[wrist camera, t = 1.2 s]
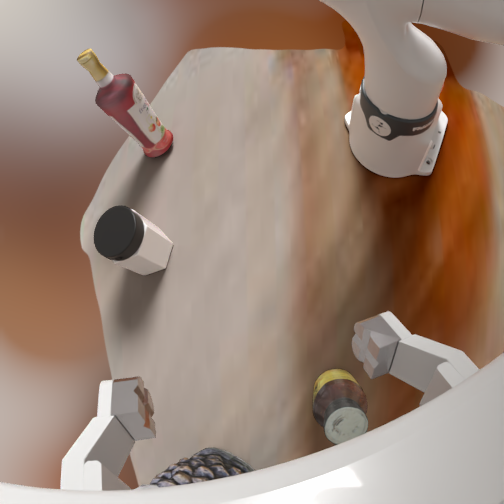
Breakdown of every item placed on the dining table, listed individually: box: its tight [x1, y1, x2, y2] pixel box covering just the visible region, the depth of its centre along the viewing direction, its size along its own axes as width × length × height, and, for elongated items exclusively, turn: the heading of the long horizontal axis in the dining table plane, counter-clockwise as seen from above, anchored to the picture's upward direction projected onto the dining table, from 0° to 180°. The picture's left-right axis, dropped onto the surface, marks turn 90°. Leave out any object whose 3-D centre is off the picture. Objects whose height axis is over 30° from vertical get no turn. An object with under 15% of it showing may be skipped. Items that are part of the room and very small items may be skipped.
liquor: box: [77, 49, 173, 157], centre depth 48 cm, size 7×7×28 cm
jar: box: [94, 206, 173, 276], centre depth 49 cm, size 9×8×12 cm
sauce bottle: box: [313, 369, 368, 445], centre depth 33 cm, size 7×6×20 cm
